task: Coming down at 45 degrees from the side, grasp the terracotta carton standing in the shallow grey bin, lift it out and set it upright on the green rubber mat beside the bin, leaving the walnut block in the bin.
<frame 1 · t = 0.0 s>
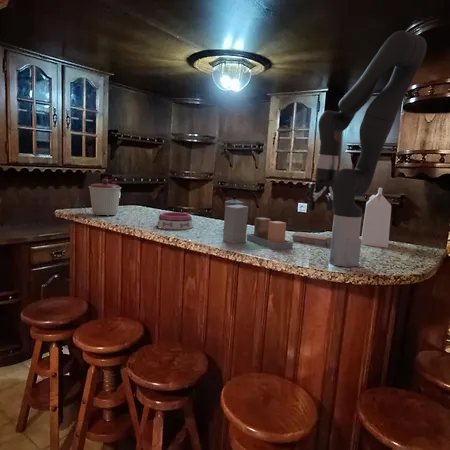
hand: (320, 210, 141), 17 cm above the counter, tool pointing down, fingers open, 8 cm apart
green mat: (252, 247, 150), on the counter
canister: (105, 215, 216), on the counter
milk: (373, 244, 174), on the counter
terracotta carton: (275, 246, 153), resting on grey bin
dog bowl: (175, 227, 190), on the counter
skincare box: (234, 242, 159), on the counter
walnut block: (261, 241, 162), resting on grey bin
coffeepot: (232, 232, 184), on the counter
packaged product: (309, 245, 165), on the counter
grey bin: (268, 244, 158), on the counter
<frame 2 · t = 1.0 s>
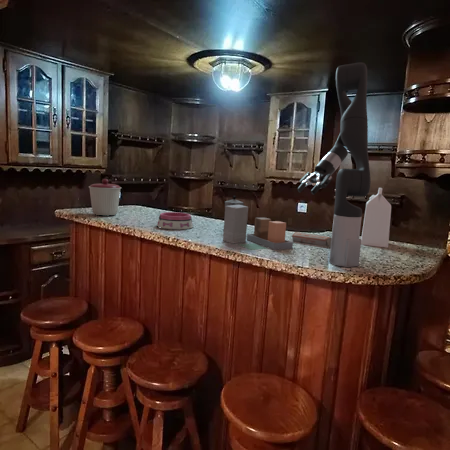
hand: (305, 192, 156), 23 cm above the counter, tool tilted 45°, fingers open, 8 cm apart
nothing on the counter moved.
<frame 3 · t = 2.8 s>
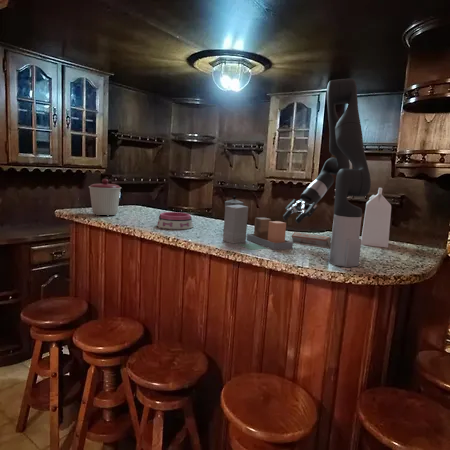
hand: (290, 220, 155), 11 cm above the counter, tool tilted 45°, fingers open, 8 cm apart
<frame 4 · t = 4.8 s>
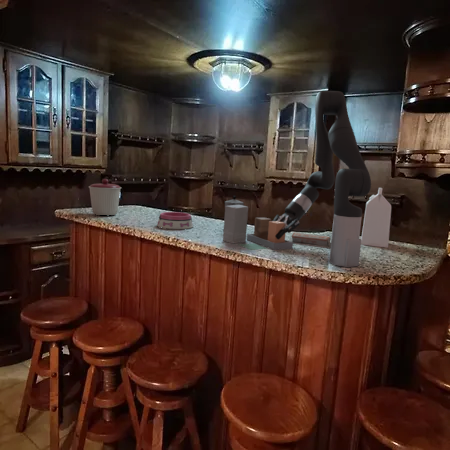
hand: (272, 236, 152), 5 cm above the counter, tool tilted 45°, fingers closed on terracotta carton, 5 cm apart
terracotta carton: (275, 246, 153), point 1 cm above the counter, touching grey bin, gripper
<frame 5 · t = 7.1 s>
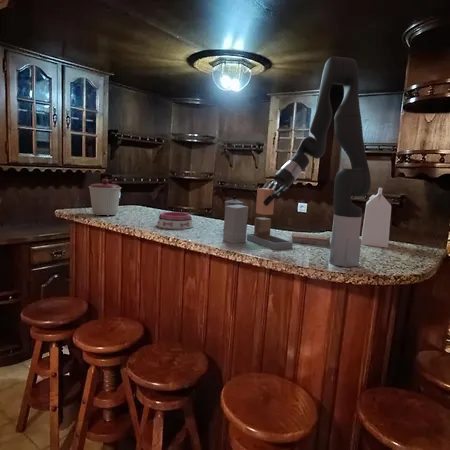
hand: (261, 203, 148), 18 cm above the counter, tool tilted 45°, fingers closed on terracotta carton, 5 cm apart
terracotta carton: (264, 213, 150), point 14 cm above the counter, touching gripper
when the fingers open (6 cm above the counter, at t = 9.5 s): terracotta carton stays where it is, resting on green mat.
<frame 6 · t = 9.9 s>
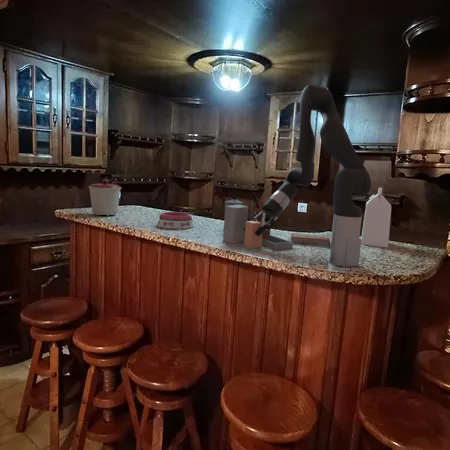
hand: (250, 232, 149), 6 cm above the counter, tool tilted 45°, fingers open, 8 cm apart
terracotta carton: (252, 246, 150), resting on green mat
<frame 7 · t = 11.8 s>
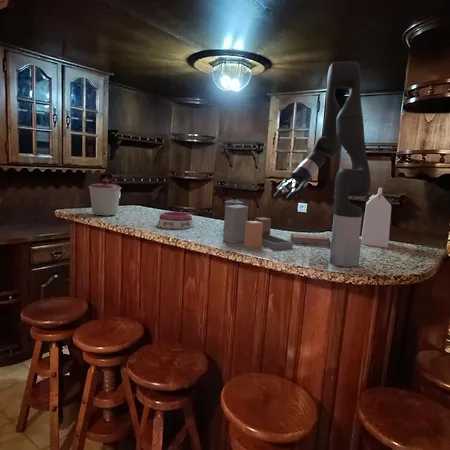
hand: (280, 199, 153), 20 cm above the counter, tool tilted 45°, fingers open, 8 cm apart
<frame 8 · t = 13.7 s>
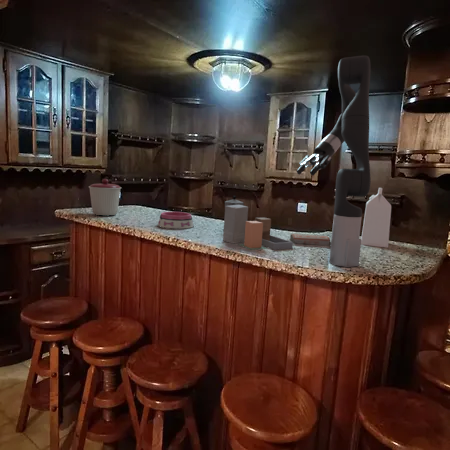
hand: (304, 173, 155), 31 cm above the counter, tool tilted 45°, fingers open, 8 cm apart
at the end: terracotta carton inside the target area on the green mat (0.1 cm from its centre), point 0.5 cm above the green mat's base; terracotta carton tilted 0°; the gripper is holding nothing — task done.
